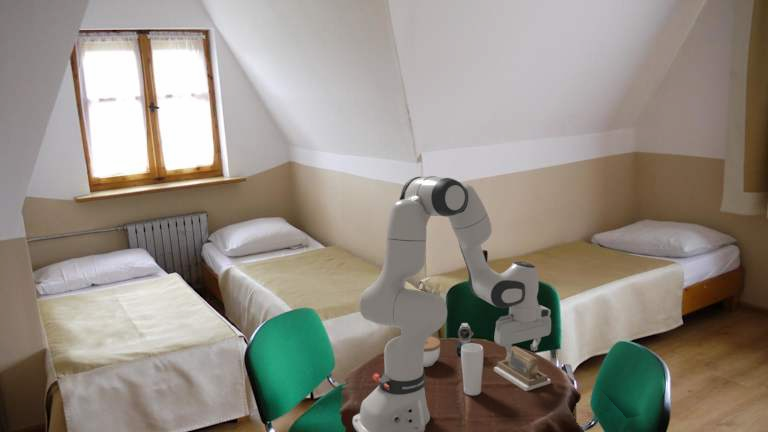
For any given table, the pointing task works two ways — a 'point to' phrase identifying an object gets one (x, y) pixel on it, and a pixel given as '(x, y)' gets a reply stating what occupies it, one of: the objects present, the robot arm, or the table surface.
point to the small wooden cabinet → (521, 377)
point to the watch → (463, 336)
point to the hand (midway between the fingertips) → (522, 352)
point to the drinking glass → (472, 368)
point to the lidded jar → (431, 351)
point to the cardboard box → (523, 363)
